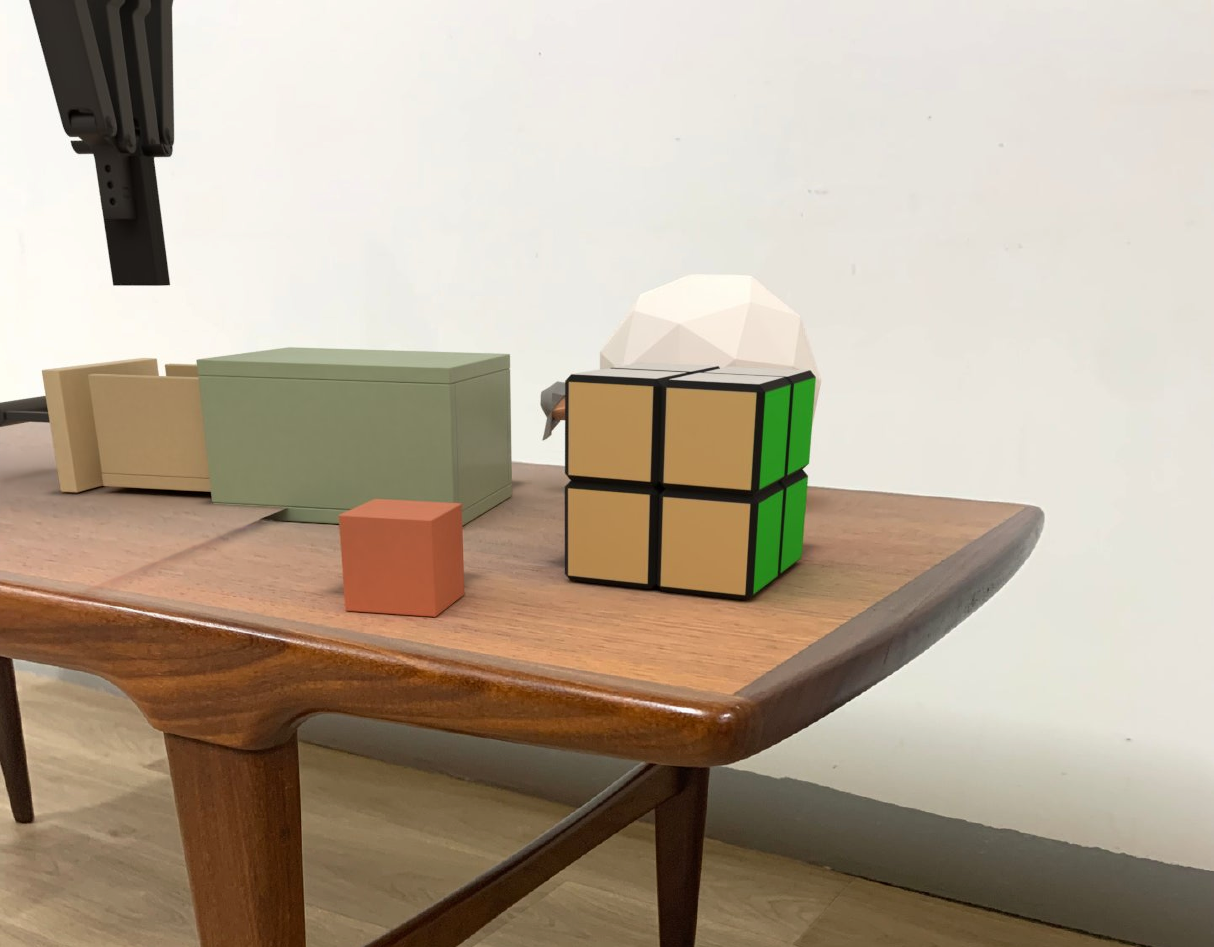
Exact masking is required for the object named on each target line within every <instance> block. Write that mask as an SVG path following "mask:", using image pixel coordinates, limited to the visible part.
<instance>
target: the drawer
mask: <svg viewBox="0 0 1214 947" xmlns="http://www.w3.org/2000/svg"><path fill="white" fill-rule="evenodd" d="M164 370H165V375H160V372H159V366H158V359H157V358H153V357H137V358H130V359H122V360H114V361H105V362H98V363H97V362H96V363H89V364H80V365H72V366H64V367H55V368H47V369H42V370H41V374H42V375H41V376H42V382H43V389H44V394H45V395H40V396H35V397H28V398H20V399H14V400H7V401H2V402H0V428H2V427H3V428H4V427H9V426H15V425H20V424H25V423H49V426H50V433H51V440H52V444H53V446H52V447H53V452H54V458H55V464H56V468H57V469H56V470H57V471H56V472H57V476H58V477H57V478H58V482H59V483H58V484H59V489H60V490H59V491H60V492H62V493H77V494H78V493H80V492H84V491H88V490H91V489H95V488H98V487H102V486H103V487H110V488H111V487H113V488H130V489H131V488H133V489H147V490H148V489H151V490H166V491H167V490H170V491H171V490H172V491H189V492H208V493H211V487H210V478H209V469H208V460H207V451H206V442H205V433H204V424H203V415H202V406H201V396H200V387H199V378H198V376H199V375H198V371H197V363H196V364H194V363H165V364H164Z"/></svg>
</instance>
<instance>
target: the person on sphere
mask: <svg viewBox="0 0 1214 947" xmlns="http://www.w3.org/2000/svg"><path fill="white" fill-rule="evenodd" d="M812 350H813V349H812V347H811V345H810V340H809V338H808V335H807V332H806V328H805V326H804V323H803V319H802V317H801V316H800V315H799V314H798V313H797V312H796V311H794V309H792V308H791V307H790V306H789V305H787V304H786V303H785V302H783V301H782V300H781V299H780V297H777V296H776V295H775V294H774V293H773V292H771V291H770V290H769V289H768V288H766V287H765V286H764V285H763V284H762V283H761V282H760V281H758V280H757V279H756V278H755V277H754V276H752V275H751V274H750V275H748V274H709V273H707V274H705V273H704V274H701V273H700V274H688V275H685V276H683V277H680V278H678V279H676V280H673V281H671V282H668V283H665V284H663V285H660V286H658V287H656V288H652V289H650V290H648V291H645V292H643V293H640V294H639V295H638V297H637V299H636V300H635V301H634V303H633V304H632V305H631V307H630V308H629V310H628V312H627V313H626V314H625V316H624V317H623V318H622V320H621V321H620V322H619V324H618V326H617V327H616V328H615V330H614V331H613V333H612V334H611V335H610V337H609V339H608V340H607V341H606V343H605V344H604V345H603V347H602V348H601V349H600V351H599V370H600V369H606V368H609V369H610V368H612V367H618V366H624V365H630V364H636V363H642V362H643V363H664V364H685V365H706V366H719V367H720V368H725V367H729V366H732V367H753V368H774V369H795V370H811V372H812V373H813V374H814V375H815V377H816V382H815V395H814V408H813V420H812V426H813V424H814V419H815V413H816V410H817V404H818V399H819V394H820V389H821V384H822V379H821V376H820V373H819V372H820V371H819V369H818V366H817V362H816V361H815V357H814V354H813V351H812ZM540 407H541V410H542V412H543V414H544V415H545V417H546V421H545V425H544V426H545V427H544V431H543V436H542V441H545V440H547V439H548V438H550V437H551V436H552V435H553V434H552V432H553V430H554V429H555V428H556V427H557V426H558V425H559V423H560V422H561V421H565V381H559V380H558V381H556V382H554V383H552V384H551V385H550V386H549V387H547V388H545V389H543V390H542V391H541V392H540Z"/></svg>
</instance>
